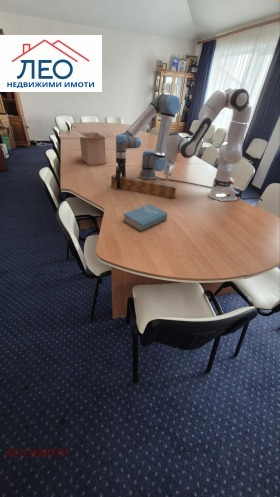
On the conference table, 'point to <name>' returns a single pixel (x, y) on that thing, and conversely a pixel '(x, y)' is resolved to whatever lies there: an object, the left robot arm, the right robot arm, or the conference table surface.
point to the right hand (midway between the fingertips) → (168, 177)
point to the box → (92, 146)
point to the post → (145, 186)
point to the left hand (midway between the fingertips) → (120, 186)
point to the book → (144, 217)
